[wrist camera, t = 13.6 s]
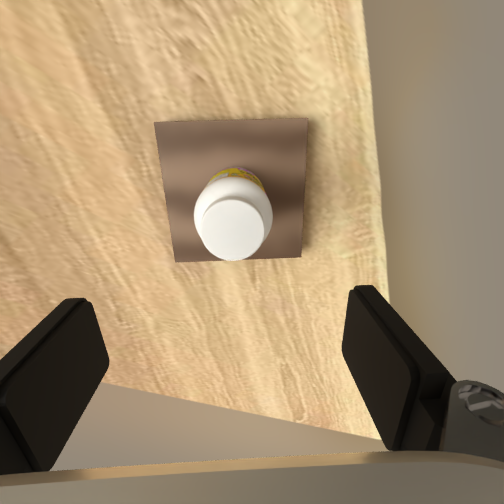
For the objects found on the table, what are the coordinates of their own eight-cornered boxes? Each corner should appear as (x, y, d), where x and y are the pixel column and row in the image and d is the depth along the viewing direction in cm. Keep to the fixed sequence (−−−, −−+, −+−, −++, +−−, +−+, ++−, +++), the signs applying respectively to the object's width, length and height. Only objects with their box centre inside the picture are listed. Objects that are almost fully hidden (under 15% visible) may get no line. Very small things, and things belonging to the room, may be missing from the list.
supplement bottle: (274, 204, 32) (295, 246, 20) (227, 233, 33) (221, 288, 21) (244, 153, 29) (247, 165, 18) (194, 186, 31) (166, 218, 19)
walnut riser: (161, 123, 31) (153, 122, 28) (302, 119, 31) (308, 117, 28) (180, 252, 37) (175, 262, 34) (296, 248, 37) (301, 257, 35)
